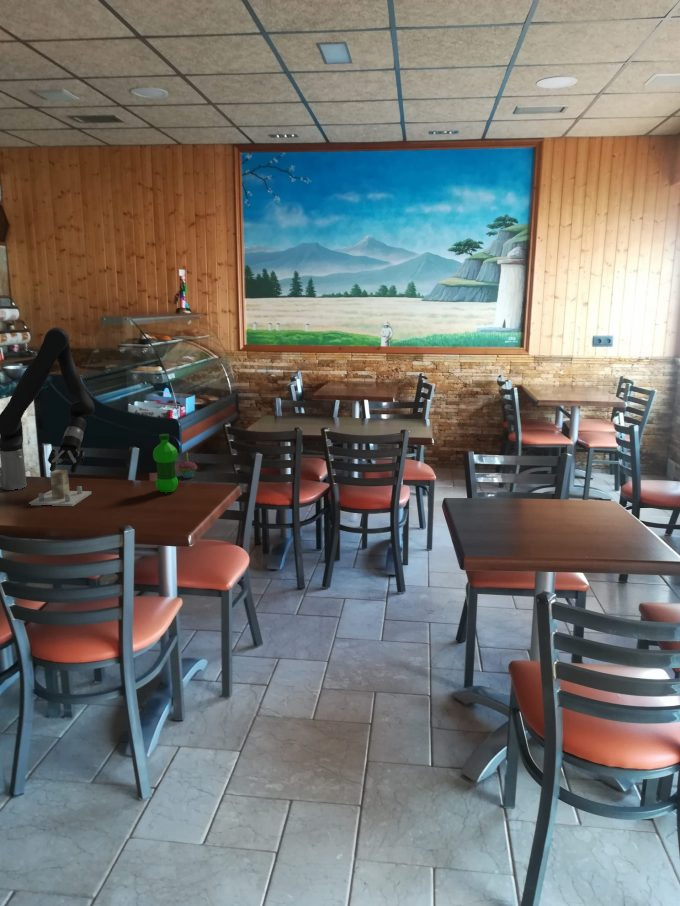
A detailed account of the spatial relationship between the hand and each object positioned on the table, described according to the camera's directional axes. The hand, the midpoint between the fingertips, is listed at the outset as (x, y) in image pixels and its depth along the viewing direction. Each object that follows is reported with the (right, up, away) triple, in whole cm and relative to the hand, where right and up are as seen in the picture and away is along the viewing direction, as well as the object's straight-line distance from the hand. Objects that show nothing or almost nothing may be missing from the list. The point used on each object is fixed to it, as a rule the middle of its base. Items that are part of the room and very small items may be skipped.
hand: (61, 472), depth 283 cm
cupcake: (+45, -3, +36) cm, 57 cm away
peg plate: (0, -11, 0) cm, 11 cm away
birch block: (0, -10, 0) cm, 10 cm away
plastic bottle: (+41, -9, +12) cm, 43 cm away
